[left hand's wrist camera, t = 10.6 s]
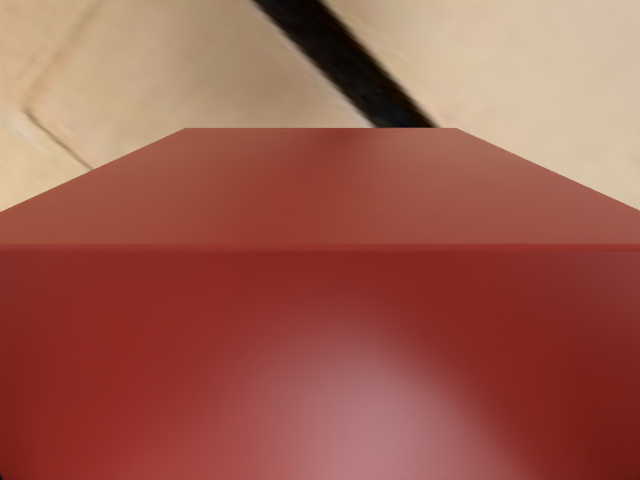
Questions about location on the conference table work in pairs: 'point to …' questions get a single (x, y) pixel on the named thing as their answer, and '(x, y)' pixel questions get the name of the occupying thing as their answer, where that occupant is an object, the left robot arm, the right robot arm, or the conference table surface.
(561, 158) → the conference table surface
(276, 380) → the block
